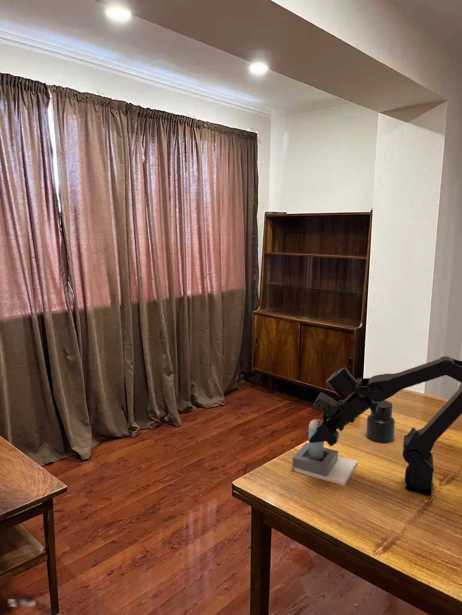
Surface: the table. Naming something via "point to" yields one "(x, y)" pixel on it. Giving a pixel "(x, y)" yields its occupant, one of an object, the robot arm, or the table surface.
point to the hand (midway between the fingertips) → (311, 437)
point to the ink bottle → (381, 423)
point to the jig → (324, 465)
